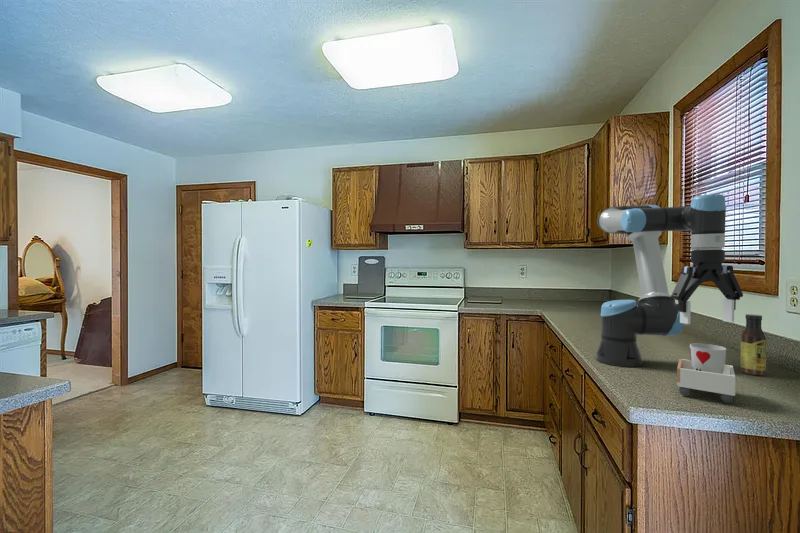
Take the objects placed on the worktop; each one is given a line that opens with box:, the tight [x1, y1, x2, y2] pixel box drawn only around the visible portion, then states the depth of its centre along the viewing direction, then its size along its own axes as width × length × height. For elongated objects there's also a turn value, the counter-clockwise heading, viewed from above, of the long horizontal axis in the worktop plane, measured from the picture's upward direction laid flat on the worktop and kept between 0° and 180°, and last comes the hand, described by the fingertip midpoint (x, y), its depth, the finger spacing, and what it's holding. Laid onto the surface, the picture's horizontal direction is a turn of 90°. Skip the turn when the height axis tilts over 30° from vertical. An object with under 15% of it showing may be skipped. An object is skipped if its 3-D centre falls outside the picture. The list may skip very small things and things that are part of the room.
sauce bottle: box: [739, 313, 767, 376], centre depth 124 cm, size 6×6×20 cm
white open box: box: [676, 358, 736, 404], centre depth 107 cm, size 12×12×8 cm
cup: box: [689, 342, 727, 374], centre depth 106 cm, size 8×8×10 cm
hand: (706, 322), depth 106 cm, fingers open, 13 cm apart
